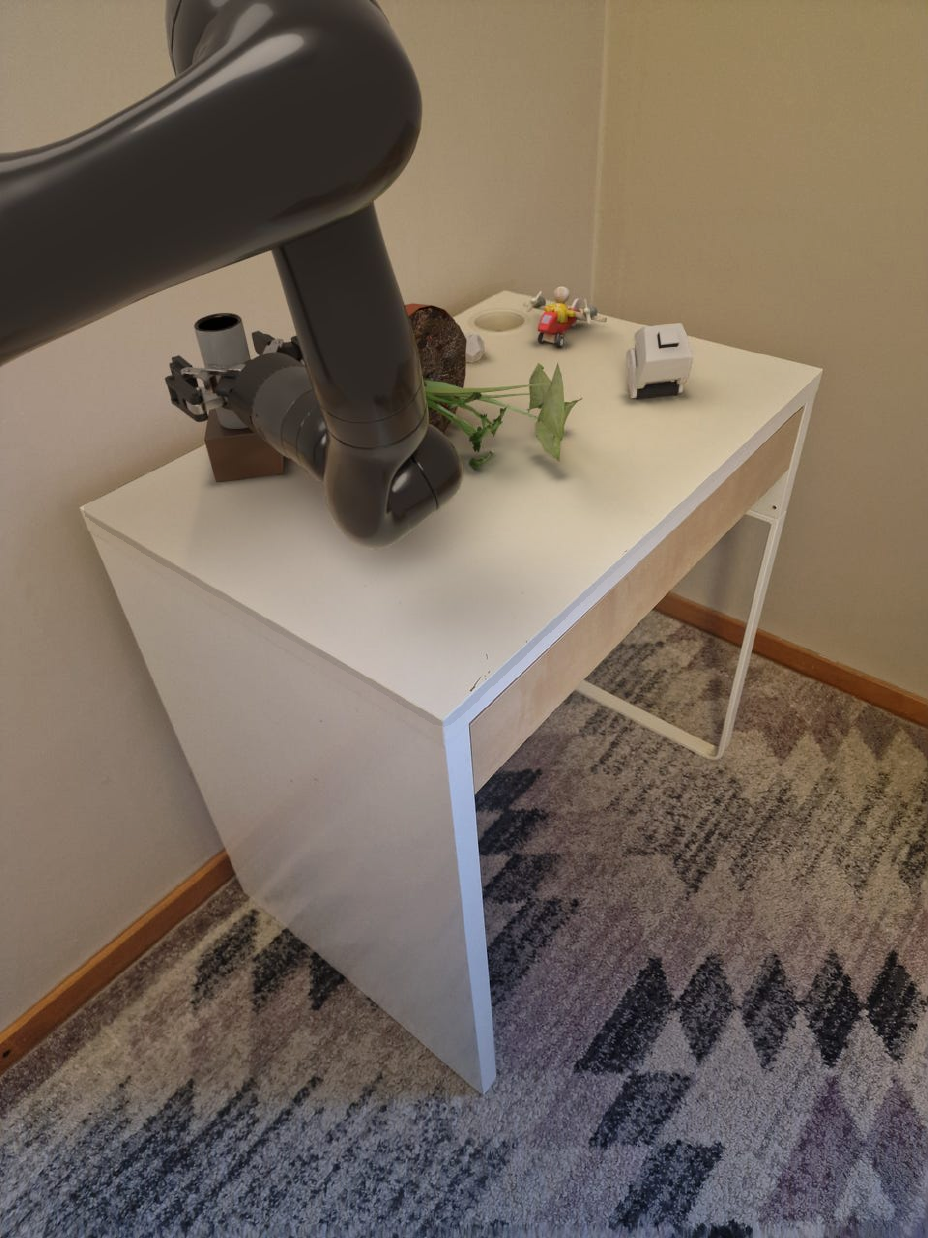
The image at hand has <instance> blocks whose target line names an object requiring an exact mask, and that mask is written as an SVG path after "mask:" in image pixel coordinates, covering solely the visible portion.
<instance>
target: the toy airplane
mask: <svg viewBox="0 0 928 1238" xmlns="http://www.w3.org/2000/svg"><path fill="white" fill-rule="evenodd" d="M542 294H543V291H542V290H540V291H539V292H538V293H537V295H533V296H532V297H531V298H530V302H529V301H528V302H527V301H523V304H522V306H523V307H524V308H526V312H527V313H528V312H531V311H532V309H535V310H539V311H544V312H543V314H542V316H541V318H540V320H539V323H538V326H537V332H539V333H538V335H537V343H539V344H544V342H547V343H551V344H556V345H555V346H556V347H557V348H562V347H563V345H564V343H565V337H564V336H563V334H564V333H565V332H566V331H567V330H568V329H569V328H570V327H576V325H577V323H578V321H579V322H586V323H587V325H591V323H592V321H595V322H599V323H607V321H608V317H605V316H600V315H598V309H597V307H595V306H594V305H588V304H587V303H588V301H587V298H585V297H584V298H583V304H584V307H583V309H582V311H581V310H580V307H581V303H582V298H579V297H576V298H575V299H574V300H573V302H572V304H571V306H570V308H569V306H568V305H567V304H566V302H567V301H569V299H570V295H571V292H570V290H569V288H568V287H566V286H564V285H562V286H558V287H557V288H555V290H554V292H553V298H554V300H555V302H554V303H552V304H551V305H549V304H548V305H546V304H547V301H546V299H545V297H544V296H542Z"/></svg>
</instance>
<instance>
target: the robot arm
mask: <svg viewBox="0 0 928 1238" xmlns="http://www.w3.org/2000/svg"><path fill="white" fill-rule="evenodd" d="M164 10H165V12H164V22H165V32H166V33H165V34H166V44H167V51H168V56H169V59H170V62H171V66H172V68H173V73H174V78H172V79H171V80H170V81H168V82H166V83H165V84H164V85H162V86H161V87H159V88H158V89H156V90H155V91H153V92H151V93H150V94H148V95H147V96H145V97H143V98H141V99H139V100H138V101H136V102H134V103H132V104H131V105H129V106H127V107H124V108H123V109H121V110H119V111H118V112H116V113H114V114H112V115H110V116H109V117H107V118H105V119H103V120H101V121H99V122H97V123H95V124H94V125H91V126H90V127H88V128H86V129H84V130H82V131H79V132H77V133H75V134H73V135H70V136H67V137H65V138H63V139H60V140H57V141H53V142H51V143H47V144H44V145H41V146H38V147H32V148H27V149H22V150H18V151H17V150H16V151H10V152H9V151H8V152H6V151H5V152H0V368H2V367H4V366H6V365H8V364H9V363H11V362H13V361H15V360H17V359H18V358H20V357H22V356H25V355H26V354H29V353H31V352H33V351H35V350H38V349H39V348H41V347H43V346H45V345H48V344H50V343H52V342H54V341H56V340H58V339H60V338H63V337H65V336H67V335H69V334H71V333H73V332H76V331H77V330H78V331H79V330H80V329H82V328H84V327H86V326H89V325H91V324H92V323H95V322H97V321H99V320H102V319H104V318H106V317H107V316H110V315H112V314H114V313H116V312H118V311H120V310H123V309H124V308H126V307H129V306H130V305H132V304H134V303H137V302H139V301H141V300H144V299H145V298H149V297H150V296H153V295H155V294H158V293H160V292H163V291H165V290H168V289H169V288H173V287H175V286H177V285H181V284H183V283H186V282H189V281H191V280H193V279H196V278H199V277H201V276H204V275H207V274H210V273H213V272H215V271H218V270H220V269H224V268H226V267H229V266H232V265H234V264H237V263H240V262H243V261H245V260H248V259H251V258H254V257H257V256H259V255H262V254H265V253H267V252H271V255H272V258H273V260H274V264H275V268H276V270H277V273H278V277H279V279H280V283H281V286H282V290H283V293H284V296H285V300H286V303H287V307H288V311H289V313H290V314H289V315H290V317H291V321H292V325H293V328H294V331H295V335H293V336H291V337H290V341H286V342H285V341H284V339H283V338H275V337H273V336H272V335H271V334H268V333H263V332H262V331H261V330H256V331H253V332H251V339H252V344H253V349H254V351H255V353H256V354H257V355H258V356H256V357H254V358H251V360H249V361H247V362H244V363H242V364H236V363H235V364H233V365H232V366H230V365H217V364H208V365H207V366H204V367H194V366H193V365H192V364H191V363H189V362H188V361H187V360H186V359H185V358H183V357H182V356H181V355H179V354H178V355H175V356H171V362H169V365H168V366H169V369H170V372H171V375H167V376H165V378H164V381H165V385H166V386H167V389H168V392H169V396H170V401H171V404H172V405H173V406H175V408H177V409H178V410H180V411H181V412H183V413H184V414H185V415H186V416H188V417H189V418H191V419H192V420H193V421H195V422H196V423H202V422H203V423H204V422H207V420H208V412H209V410H212V409H214V408H217V407H220V406H221V407H222V408H224V409H227V410H232V411H234V412H235V414H236V415H237V416H238V417H239V419H240V420H241V421H242V422H243V423H244V424H245V425H246V426H247V427H248V428H250V429H251V430H252V431H253V432H254V433H256V434H257V435H258V436H259V437H261V438H262V439H263V440H264V441H265V442H267V443H268V444H269V445H270V446H272V447H273V448H274V449H275V450H276V451H278V452H279V453H280V454H282V455H284V458H287V459H289V460H291V461H293V463H296V464H297V465H298V466H300V468H302V470H304V471H305V472H306V473H307V474H308V475H310V476H311V477H312V478H314V479H315V480H317V482H318V483H319V482H320V483H321V484H323V489H324V490H323V491H324V495H325V500H326V501H325V502H326V504H327V507H328V508H327V509H328V511H329V513H330V515H331V517H332V519H333V522H334V524H335V526H336V527H337V528H338V529H339V530H340V532H341V534H343V535H344V536H345V537H346V538H347V539H348V540H350V541H351V542H352V543H354V544H355V545H357V546H359V547H363V548H365V549H370V550H371V549H372V550H380V549H381V550H382V549H385V548H388V547H391V546H392V545H395V544H396V543H398V542H399V541H400V540H402V539H403V538H404V537H405V536H407V535H408V534H409V533H410V532H412V531H413V530H415V529H416V528H417V527H418V526H420V525H421V524H423V523H424V522H425V521H426V520H428V519H429V518H431V516H433V515H434V514H435V513H437V512H438V511H440V510H441V509H442V508H444V507H445V506H446V505H447V504H448V503H450V502H451V501H452V500H453V499H454V498H455V497H456V496H457V494H458V493H459V492H460V490H461V488H462V485H463V481H464V465H463V461H462V458H461V455H460V453H459V451H458V450H457V447H456V446H455V445H454V443H453V442H452V441H451V440H450V438H449V437H448V436H447V435H446V434H445V433H444V432H441V431H440V430H438V429H437V428H436V427H434V426H433V425H431V424H429V411H428V404H427V398H426V392H425V387H424V381H423V375H422V369H421V363H420V358H419V353H418V349H417V345H416V341H415V337H414V334H413V330H412V327H411V324H410V320H409V317H408V314H407V310H406V307H405V305H406V304H405V302H404V301H405V300H404V298H403V295H402V291H401V289H400V286H399V283H398V280H397V278H396V274H395V271H394V267H393V264H392V261H391V259H390V255H389V252H388V250H387V246H386V242H385V239H384V236H383V231H382V229H381V226H380V222H379V218H378V214H377V210H376V205H375V201H376V200H377V199H379V198H380V197H381V196H382V195H383V194H384V193H385V192H386V191H388V190H389V188H390V187H392V185H393V184H394V183H395V182H396V181H397V180H398V179H399V177H400V176H401V174H402V173H403V172H404V171H405V169H406V167H407V166H408V164H409V162H410V160H411V159H412V156H413V154H414V152H415V150H416V147H417V144H418V141H419V137H420V134H421V131H422V122H423V97H422V92H421V87H420V83H419V81H418V77H417V74H416V72H415V69H414V66H413V64H412V62H411V60H410V58H409V56H408V54H407V51H406V49H405V48H404V46H403V44H402V42H401V41H400V39H399V36H398V35H397V33H396V31H395V30H394V29H393V27H392V25H391V23H390V22H389V20H388V18H387V15H386V14H385V13H384V11H383V10H382V8H381V6H380V5H379V3H378V1H377V0H165V9H164ZM216 376H221V378H220V380H219V382H217V379H216ZM198 379H200V380H201V381H202V383H203V386H199V382H198Z"/></svg>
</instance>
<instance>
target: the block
mask: <svg viewBox="0 0 928 1238" xmlns="http://www.w3.org/2000/svg"><path fill="white" fill-rule="evenodd" d="M207 414H208V420H206V426H205V432H204V438H203V441H204V444H205V448H206V452H207V455H208V459H209V463H210V466H211V469H212V473H213V477H214V480H215V482H216V483H220V482H228V481H236V480H244V479H253V478H260V477H269V476H276V475H283V474H284V465H285V464H284V463H285V456H284V455H282V454H280V453H279V452H278V451H276V450H275V449H274V448H273V447H272V446H270V445H269V444H268V443H267V442H265V441H264V440H263V439H262V438H261V437H259V436H258V435H257V434H256V433H254V432H253V431H252V430H251V429H250V428H243V429H229V428H225V427H223V426H222V425H221V424H220V422H219V419H218V415H217V411H216V408H214V409H212V410H209V411H208V412H207Z"/></svg>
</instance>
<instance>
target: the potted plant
mask: <svg viewBox="0 0 928 1238" xmlns="http://www.w3.org/2000/svg"><path fill="white" fill-rule="evenodd" d="M405 307H406V310H407V314H408V317H409V320H410V324H411V327H412V330H413V334H414V337H415V341H416V345H417V349H418V353H419V358H420V363H421V369H422V375H423V381H424V387H425V392H426V398H427V404H428V411H429V424H431V425H433V426H434V427H436V428H437V429H438V430H440V431H441V432H442V433H444V432H445V431H446V430H447V428H448V427H449V426H450V423H453V424H455V425H456V426H457V427H459V428H460V430H461V431H462V433H463V434H464V435H465V436H467V437H468V438H469V439H468V441H469V443H471V445H472V449H473V452H477V453H480V450H481V449H483V450H484V449H485V448H484V447H483V446H482V441H483V439H484V438H485V437H486V436H487V435H489V434H491V435H492V438H495V435H496V433H497V430H498V429H499V426H500V425H502V423H503V417H504V415H505V413H506V411H507V410H508V409H509V410H511V411H514V412H517V413H519V414H522V415H525V416H527V417H530V418H533V419H535V420H537V421H536V422H535V423H534V428H535V437H536V438H537V440H538V442H539V443H540V444H541V446H542V448H543V450H545V451H546V452H547V453H549V455H550V456H551V457H553V459H556V461H558V462H560V455H561V442H562V441H563V440H564V439H563V438H564V431H565V424H566V422H567V419H568V416H569V415H570V412H571V411H572V409H573V408H574V407H575V405H577V403H578V402H580V401H581V400H583V397H581V398H579V399H575V400H572V401H565V393H564V391H565V390H564V383H563V375H562V372H561V369H560V365H559V362H557V363H556V366H555V369H554V372H553V376H552V378H551V379H550V378H549V376H548V375H547V373H546V372H545V370H544V369H545V367H544V366H543V365H542V364H541V363H540V362H538V363H537V364H536V365H535V368H534V369H533V371H532V374H531V375H530V377H529V380H528V383H529V384H518V385H507V386H496V387H495V386H494V387H464V386H465V382H466V375H467V374H466V373H467V372H466V371H467V370H466V369H467V367H466V365H467V362H466V354H465V353H466V342H467V340H466V338H465V336H464V335H465V333H464V331H463V330H462V327H461V326H460V325H459V324H458V322H457V321H456V319H454V317H453V316H452V315H450V313H449V312H448V311H447V310H446V309H444V308H441V307H439V306H436V305H432V304H422V303H408V304H405ZM525 387H528V389H529V391H528V392H529V393H528V392H527V393H506V394H495V395H494V394H485V393H492V392H502V391H507V390H513V389H520V388H525ZM483 393H484V394H483ZM527 395H529V402H528V403H529V404H528V408H527V409H526V410H527V412H526V411H524V410H521V409H518V408H516V407H513V406H511V405H509V404H510V403H508V404H506V403H503V402H501V401H499V400H496V399H499V398H507V397H508V398H509V397H517V396H527ZM474 401H479V402H484V403H488V404H491V405H492V404H493V405H495V406H499V407H500V408H499V411H498V412H499V415H498V416H497V417H496V418H493V420H492V421H491V420H490V419H489V418H488V413H486V414H485V413H484V414H482V413H481V412H479V411H477V410H476V409H475V408H473V407H472V406H470V405H469V403H471V402H474ZM459 407H460V408H462V409H464V410H466V411H469V412H471V413H473V414H474V415H475V416H476V417H477V418H478V419H480V421H481V425H482V427H481V426H477V428H476V429H475V427H473V426H472V424H470V423H469V422H467V421H466V420H465V419H463V418H461V417H460V416H458V415H457V414H456V413H457V410H458V408H459ZM533 409H539V410H540V411H539V415H538V416H536V415H534V414H531V413H530V411H531V410H533ZM488 453H489V454H488V455H487V456H486V455H484V456H483V457H482V458H478V459H476V458H475V457H473V458H470V460H469V461H468V466H469V467H472V469H473V470H477V469H478V468H479V467H480V466H482V465H483V464H484V463H485V462H486V461H487V460H488V459H489V458H490V457H492V456H493V454H494V452H493V451H492V450H491V449H490V451H489V452H488Z"/></svg>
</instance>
